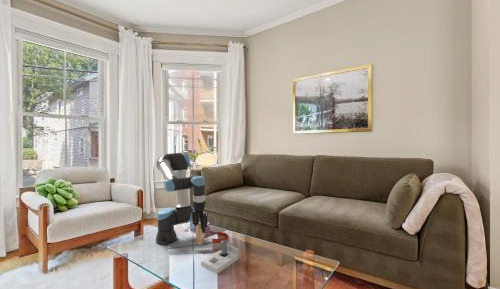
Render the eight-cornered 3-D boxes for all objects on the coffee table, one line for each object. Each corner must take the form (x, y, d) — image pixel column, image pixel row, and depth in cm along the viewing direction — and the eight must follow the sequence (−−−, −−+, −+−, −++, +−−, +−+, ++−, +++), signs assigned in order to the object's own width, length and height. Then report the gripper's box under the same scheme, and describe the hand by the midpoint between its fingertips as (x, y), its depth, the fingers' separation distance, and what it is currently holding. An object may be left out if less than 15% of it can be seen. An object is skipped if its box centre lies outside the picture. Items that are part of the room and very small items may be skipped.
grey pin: (219, 258, 173) (219, 241, 172) (223, 256, 176) (223, 239, 175) (224, 260, 171) (224, 243, 169) (228, 258, 174) (228, 240, 173)
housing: (201, 265, 166) (201, 255, 165) (223, 252, 182) (223, 242, 181) (217, 273, 157) (217, 262, 156) (238, 258, 173) (238, 248, 172)
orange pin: (195, 243, 169) (195, 225, 167) (200, 240, 172) (200, 223, 170) (200, 244, 166) (199, 226, 165) (204, 242, 169) (204, 224, 168)
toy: (226, 251, 182) (225, 240, 181) (211, 250, 184) (211, 239, 183) (230, 243, 194) (230, 232, 193) (217, 241, 196) (217, 231, 195)
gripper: (185, 199, 168) (186, 234, 171) (203, 205, 158) (204, 242, 160) (194, 196, 174) (195, 230, 177) (213, 202, 163) (213, 238, 166)
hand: (200, 236), depth 168 cm, fingers closed on orange pin, 4 cm apart
